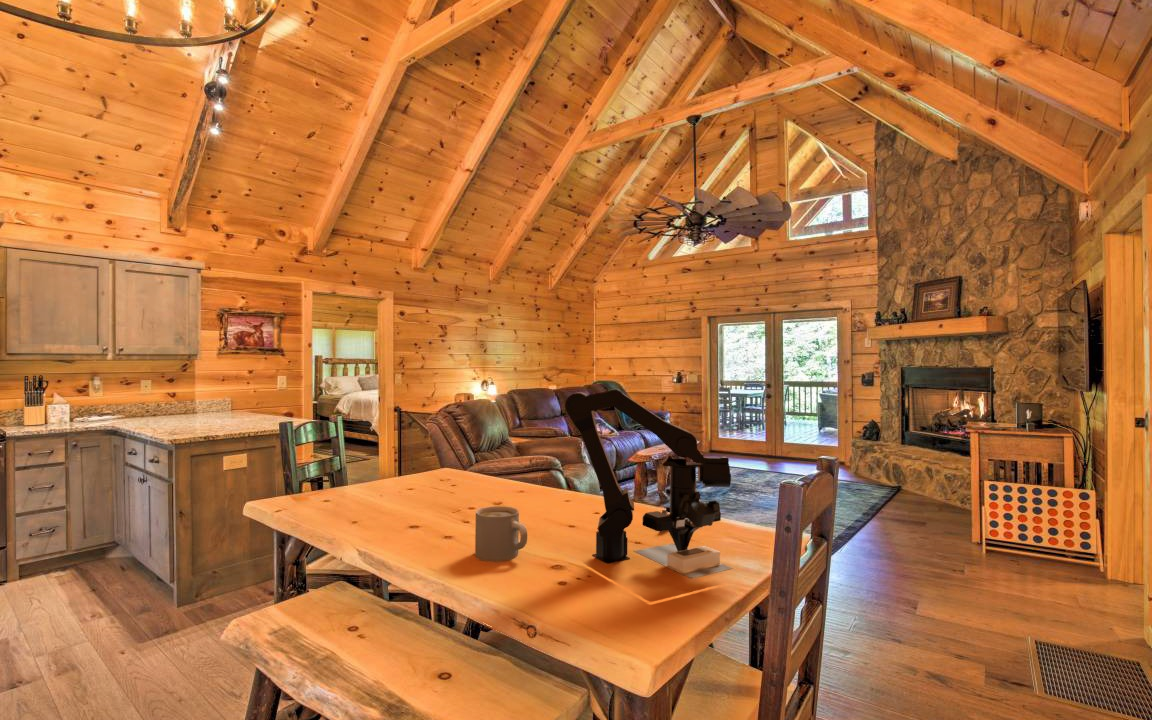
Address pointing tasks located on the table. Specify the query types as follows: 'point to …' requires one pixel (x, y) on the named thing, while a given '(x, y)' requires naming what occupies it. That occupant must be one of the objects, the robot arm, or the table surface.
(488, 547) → the coffee mug
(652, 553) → the subfloor panel
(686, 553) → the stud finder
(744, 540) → the table surface
